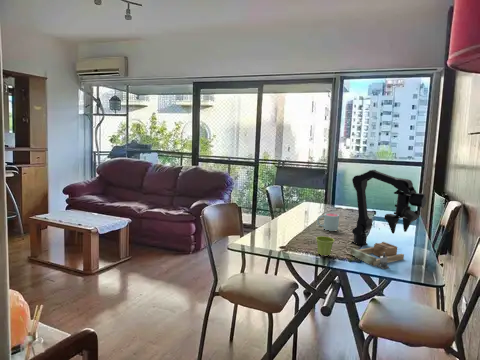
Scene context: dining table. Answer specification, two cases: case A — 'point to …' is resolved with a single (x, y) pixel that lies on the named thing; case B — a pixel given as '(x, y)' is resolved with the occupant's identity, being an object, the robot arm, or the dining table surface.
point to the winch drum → (383, 262)
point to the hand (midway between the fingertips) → (399, 232)
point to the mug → (330, 221)
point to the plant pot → (324, 245)
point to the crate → (384, 249)
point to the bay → (371, 260)
